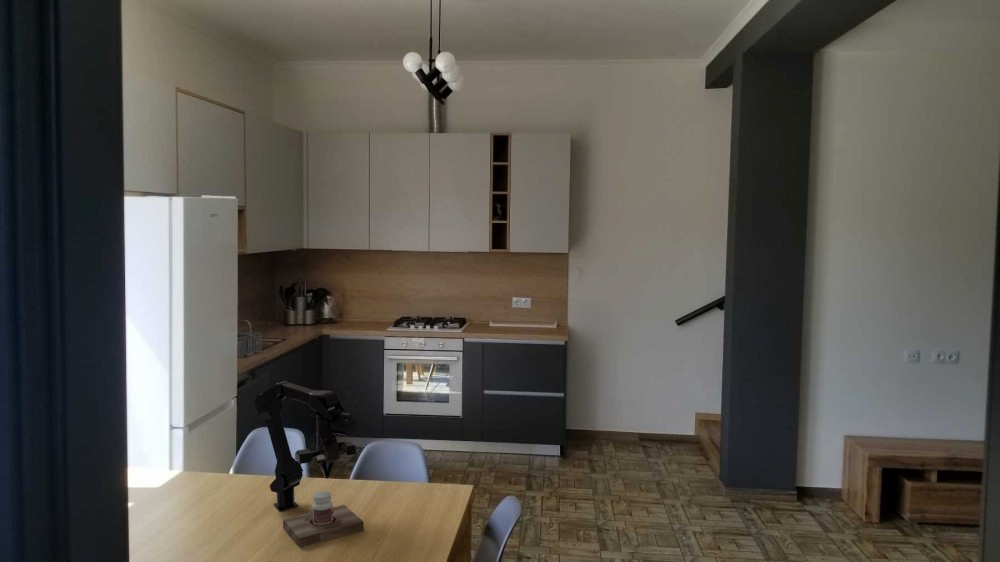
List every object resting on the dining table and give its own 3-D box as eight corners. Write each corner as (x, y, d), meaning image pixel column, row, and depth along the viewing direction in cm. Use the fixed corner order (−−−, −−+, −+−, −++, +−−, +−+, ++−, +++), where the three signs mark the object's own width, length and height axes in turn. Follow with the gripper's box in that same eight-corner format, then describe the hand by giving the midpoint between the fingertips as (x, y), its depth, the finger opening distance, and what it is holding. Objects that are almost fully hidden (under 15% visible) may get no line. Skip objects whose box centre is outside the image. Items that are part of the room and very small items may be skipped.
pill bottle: (336, 530, 213) (335, 495, 212) (316, 535, 210) (315, 499, 209) (329, 523, 218) (328, 489, 217) (310, 528, 215) (309, 493, 214)
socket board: (283, 528, 215) (282, 519, 215) (344, 513, 226) (344, 504, 226) (299, 548, 202) (299, 538, 201) (363, 530, 213) (363, 521, 213)
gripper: (304, 442, 210) (305, 492, 211) (362, 433, 220) (363, 480, 221) (294, 433, 219) (295, 480, 221) (350, 424, 229) (350, 469, 231)
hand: (326, 478), depth 223 cm, fingers closed
